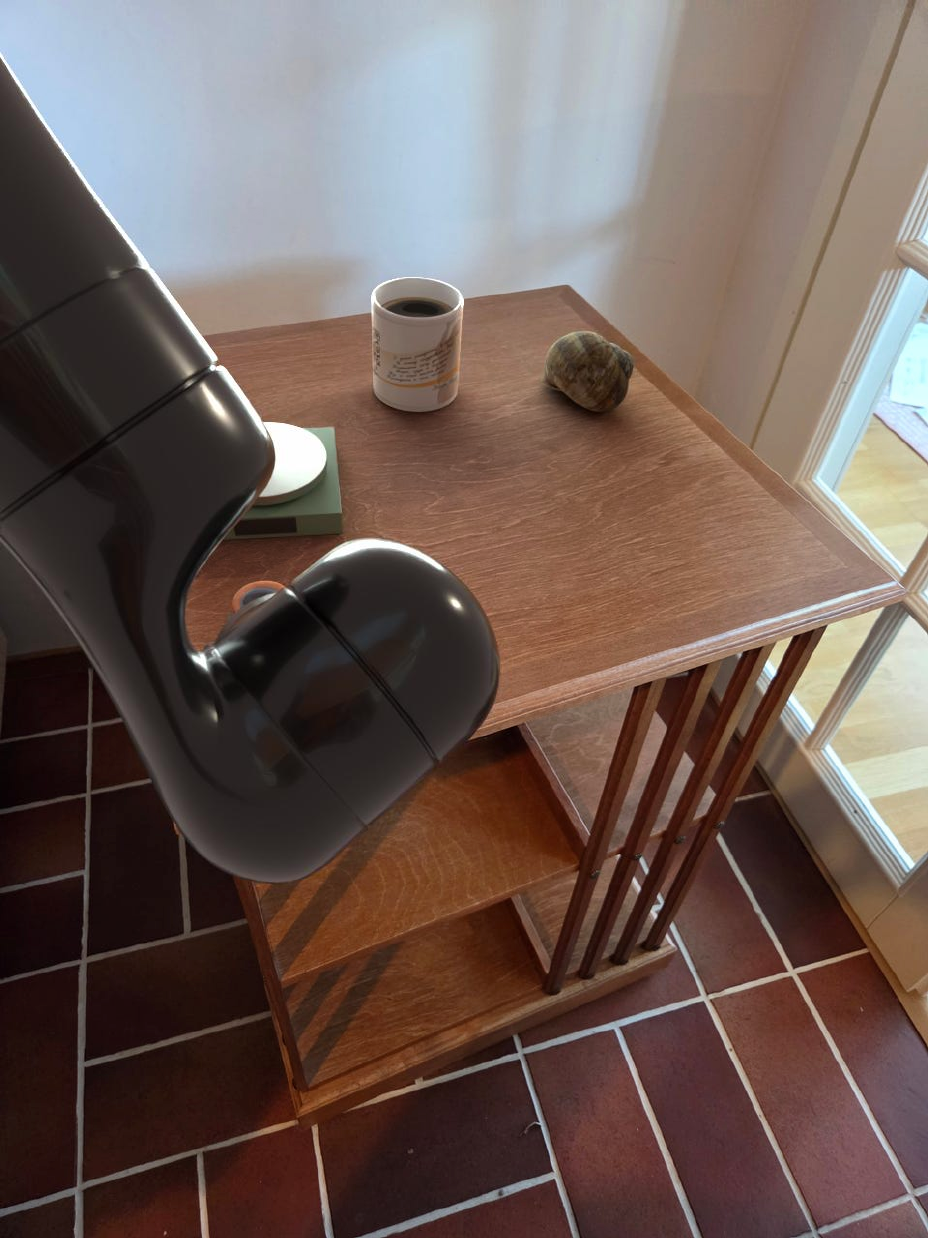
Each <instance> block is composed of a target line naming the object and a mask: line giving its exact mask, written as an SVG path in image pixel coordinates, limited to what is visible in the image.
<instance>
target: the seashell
mask: <svg viewBox="0 0 928 1238" xmlns="http://www.w3.org/2000/svg"><path fill="white" fill-rule="evenodd" d="M635 365H636V364H635V361H634V358H633V355H631V354H630V353H629V352H628V351H626V350H624V349H622V348H621V347H620V346H619V345H617V344H615V343H614V342H613V343H612V342H608V341H607V340H606V339H605V338H604V337H603V336H602V335H601V334H598V333H596V332H594V331H591V330H589V331H588V330H579V331H573V332H570V333H567V334H565V335H563V336H561V337H560V338H559V339H557V340H556V341H555V342H554V343H552V344H551V347H550V348H549V349H548V351H547V353H546V356H545V359H544V366H543V369H544V370H543V371H544V372H543V373H542V375H541V378H540V381H541V383H542V384H543V385H544V386H546V387H547V388H549V389H551V390H552V389H553V390H555V391H560V392H563V393H564V394H565V395H566V396H567V397H568V398H570V399H571V400H572V401H573V402H575V403H576V404H578V405H579V406H581V407H582V408H584V409H586V410H589V411H592V412H609V411H611V410H613V409H615V408H617V407H618V406H620V405H621V404H622V403H623V402H624V400H625V399H626V397H627V394H628V392H629V384H630V379H631V377H632V375H633V373H634V368H635Z"/></svg>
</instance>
